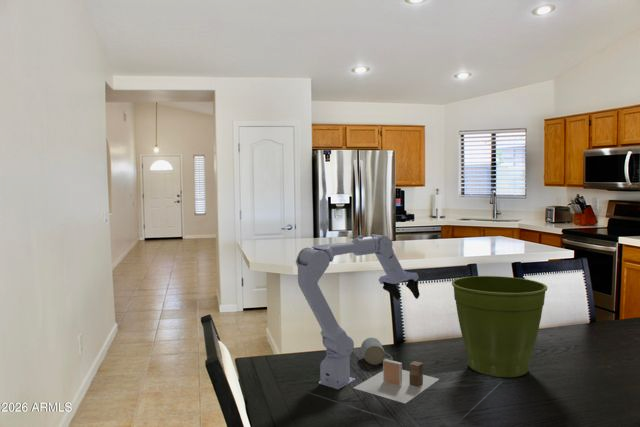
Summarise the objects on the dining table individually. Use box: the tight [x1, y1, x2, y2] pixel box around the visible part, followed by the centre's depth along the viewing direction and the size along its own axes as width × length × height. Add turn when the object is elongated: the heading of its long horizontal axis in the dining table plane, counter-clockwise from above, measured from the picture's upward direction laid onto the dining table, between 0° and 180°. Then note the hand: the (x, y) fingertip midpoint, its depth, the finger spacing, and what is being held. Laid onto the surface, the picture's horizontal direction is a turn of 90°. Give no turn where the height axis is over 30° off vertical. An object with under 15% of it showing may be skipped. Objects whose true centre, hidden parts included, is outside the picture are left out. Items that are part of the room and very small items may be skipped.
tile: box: [382, 359, 403, 386], centre depth 154 cm, size 1×6×7 cm, turn 51°
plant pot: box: [451, 275, 548, 378], centre depth 166 cm, size 30×30×29 cm
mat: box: [353, 369, 440, 405], centre depth 154 cm, size 22×18×1 cm
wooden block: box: [408, 360, 424, 387], centre depth 153 cm, size 3×3×6 cm
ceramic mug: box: [360, 337, 394, 366], centre depth 174 cm, size 11×8×8 cm
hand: (408, 297), depth 170 cm, fingers open, 7 cm apart
